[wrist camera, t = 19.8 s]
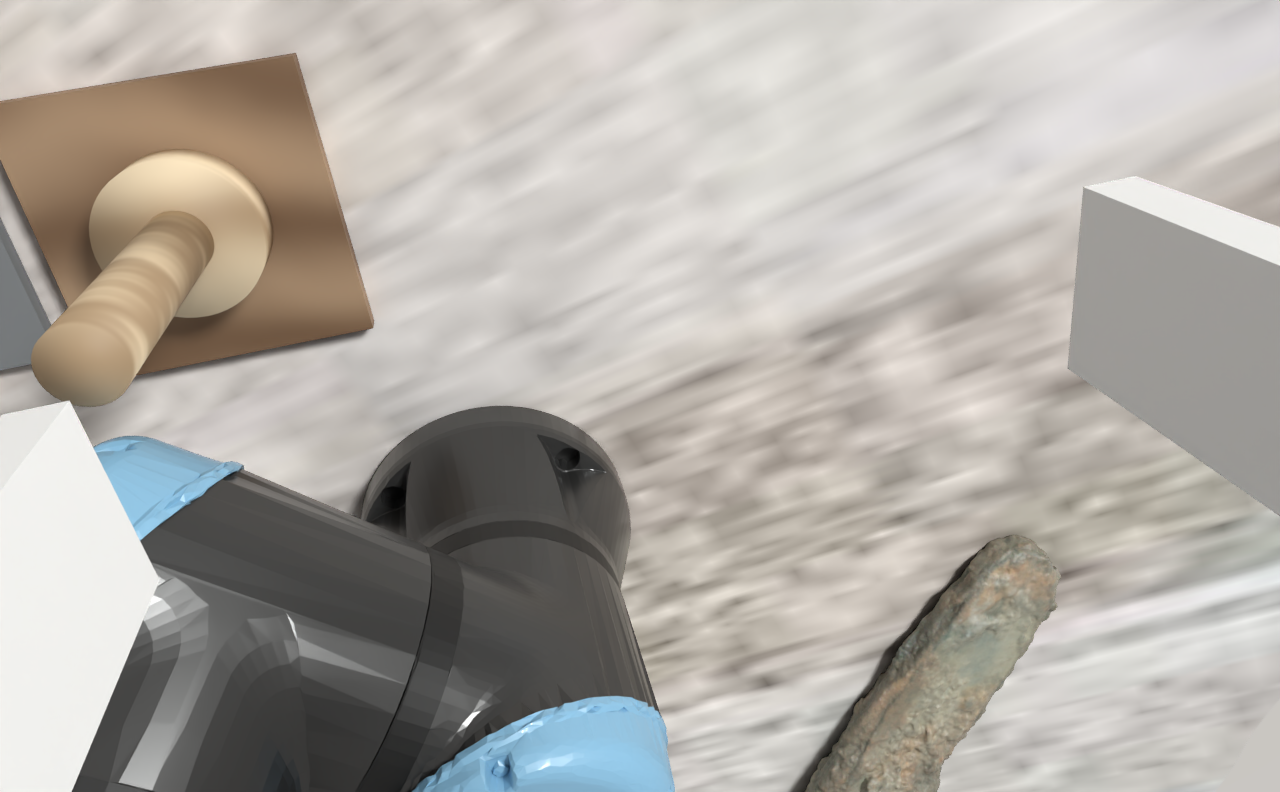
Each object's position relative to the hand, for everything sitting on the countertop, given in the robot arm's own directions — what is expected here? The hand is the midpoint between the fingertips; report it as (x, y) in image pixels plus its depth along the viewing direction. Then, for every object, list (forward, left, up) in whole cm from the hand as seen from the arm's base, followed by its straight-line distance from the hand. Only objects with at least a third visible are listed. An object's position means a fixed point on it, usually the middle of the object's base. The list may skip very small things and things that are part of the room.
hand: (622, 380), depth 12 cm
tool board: (-5, +15, -35) cm, 38 cm away
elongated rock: (-50, -20, -35) cm, 65 cm away
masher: (-5, +15, -34) cm, 37 cm away
